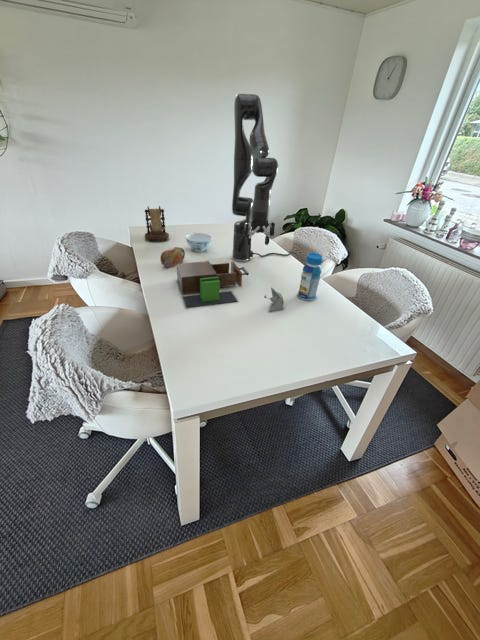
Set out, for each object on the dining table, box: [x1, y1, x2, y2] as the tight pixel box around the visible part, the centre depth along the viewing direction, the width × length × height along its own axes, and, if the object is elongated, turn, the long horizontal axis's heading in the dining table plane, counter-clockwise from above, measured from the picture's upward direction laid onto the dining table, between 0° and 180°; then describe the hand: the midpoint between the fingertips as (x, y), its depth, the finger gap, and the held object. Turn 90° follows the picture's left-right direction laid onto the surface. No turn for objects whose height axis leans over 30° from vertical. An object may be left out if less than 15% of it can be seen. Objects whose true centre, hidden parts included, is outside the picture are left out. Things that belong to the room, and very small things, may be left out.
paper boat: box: [263, 286, 284, 313], centre depth 129 cm, size 12×6×9 cm
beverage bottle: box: [297, 252, 324, 301], centre depth 133 cm, size 8×8×20 cm
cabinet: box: [175, 260, 217, 296], centre depth 139 cm, size 16×15×9 cm
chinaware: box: [185, 232, 213, 253], centre depth 177 cm, size 15×15×8 cm
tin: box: [159, 246, 186, 268], centre depth 158 cm, size 15×3×8 cm, turn 143°
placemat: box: [182, 290, 238, 309], centre depth 132 cm, size 22×9×1 cm, turn 109°
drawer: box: [210, 261, 250, 288], centre depth 144 cm, size 19×13×7 cm
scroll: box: [144, 205, 170, 243], centre depth 185 cm, size 15×15×20 cm
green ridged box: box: [199, 277, 221, 302], centre depth 129 cm, size 8×4×10 cm, turn 109°
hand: (257, 245), depth 140 cm, fingers open, 8 cm apart
